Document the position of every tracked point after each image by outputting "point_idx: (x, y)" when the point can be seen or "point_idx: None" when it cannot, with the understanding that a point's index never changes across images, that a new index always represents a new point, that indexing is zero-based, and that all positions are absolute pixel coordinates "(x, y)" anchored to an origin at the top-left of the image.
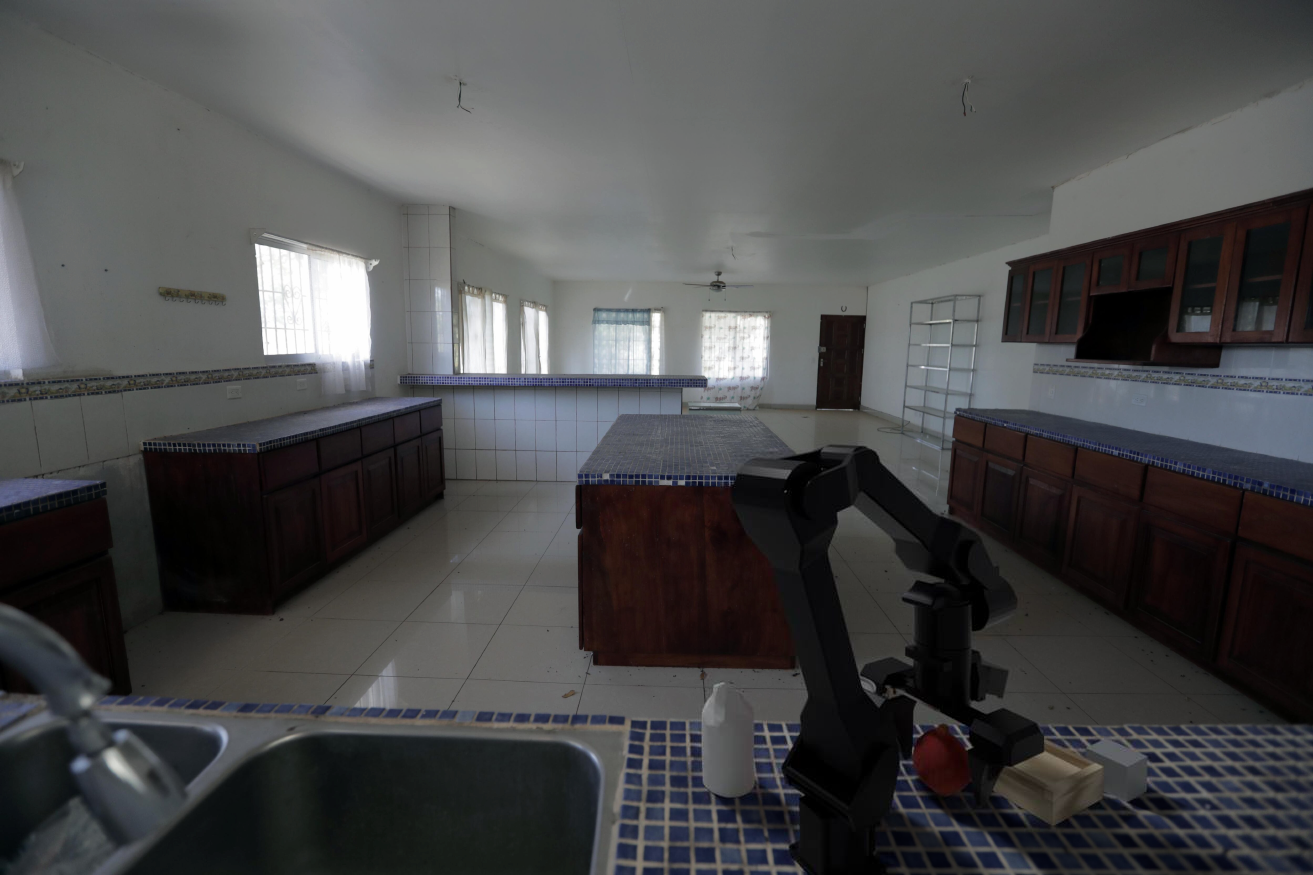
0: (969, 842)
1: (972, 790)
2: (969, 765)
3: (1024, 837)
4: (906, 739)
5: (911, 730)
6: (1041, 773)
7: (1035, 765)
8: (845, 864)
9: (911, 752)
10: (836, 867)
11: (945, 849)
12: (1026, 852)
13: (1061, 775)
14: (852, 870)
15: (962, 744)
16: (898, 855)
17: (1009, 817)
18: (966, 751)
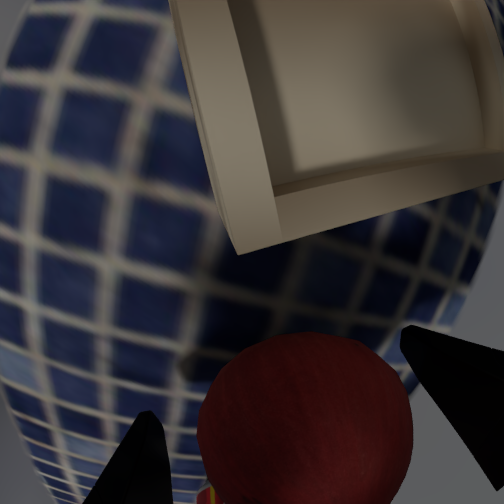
0: (401, 363)
1: (425, 389)
2: (476, 456)
3: (443, 255)
4: (155, 477)
5: (135, 485)
6: (415, 46)
7: (373, 13)
8: None
9: (149, 422)
10: None
11: None
12: (457, 280)
13: (431, 9)
14: None
15: (391, 444)
16: None
17: (402, 237)
18: (401, 419)
